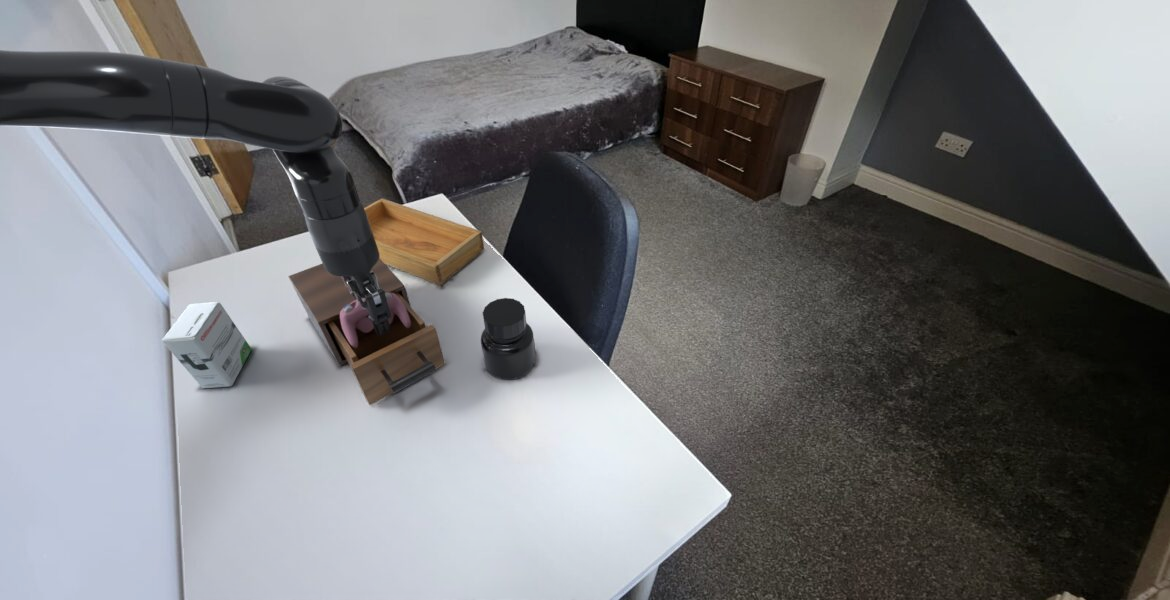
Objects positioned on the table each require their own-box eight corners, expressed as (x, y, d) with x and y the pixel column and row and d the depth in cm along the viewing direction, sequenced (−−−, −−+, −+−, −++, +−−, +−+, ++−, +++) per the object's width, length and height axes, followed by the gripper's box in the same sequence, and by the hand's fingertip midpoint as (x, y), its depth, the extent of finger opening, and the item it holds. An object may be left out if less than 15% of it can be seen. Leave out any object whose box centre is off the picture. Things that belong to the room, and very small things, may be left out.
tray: (338, 246, 109) (329, 225, 105) (387, 216, 119) (381, 196, 115) (440, 288, 98) (435, 267, 94) (485, 252, 108) (482, 231, 104)
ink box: (224, 350, 84) (188, 301, 76) (253, 349, 84) (221, 299, 76) (200, 389, 77) (158, 339, 70) (231, 387, 78) (193, 337, 70)
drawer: (459, 380, 79) (450, 344, 73) (382, 425, 72) (365, 389, 66) (408, 319, 89) (396, 284, 84) (336, 353, 83) (318, 317, 77)
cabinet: (417, 328, 89) (404, 285, 82) (339, 366, 82) (317, 322, 75) (383, 287, 98) (368, 246, 91) (309, 319, 90) (287, 276, 83)
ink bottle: (543, 348, 86) (540, 299, 78) (528, 385, 79) (523, 336, 71) (493, 339, 87) (485, 289, 79) (474, 374, 81) (464, 325, 73)
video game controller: (409, 322, 81) (394, 284, 79) (414, 327, 77) (399, 287, 75) (349, 344, 76) (332, 305, 74) (351, 351, 73) (333, 310, 70)
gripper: (391, 247, 63) (417, 335, 74) (350, 206, 71) (380, 291, 82) (333, 269, 59) (371, 358, 70) (297, 222, 67) (336, 309, 78)
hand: (375, 322), depth 76 cm, fingers closed on video game controller, 6 cm apart
